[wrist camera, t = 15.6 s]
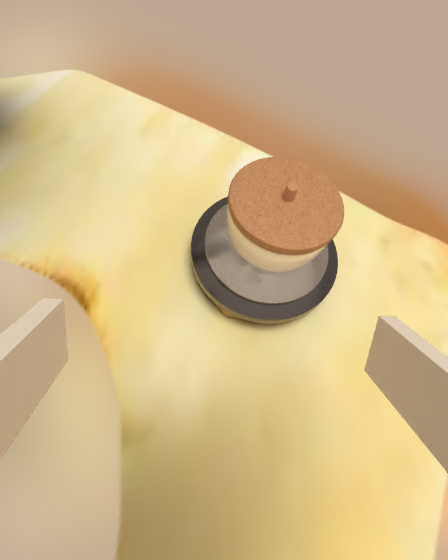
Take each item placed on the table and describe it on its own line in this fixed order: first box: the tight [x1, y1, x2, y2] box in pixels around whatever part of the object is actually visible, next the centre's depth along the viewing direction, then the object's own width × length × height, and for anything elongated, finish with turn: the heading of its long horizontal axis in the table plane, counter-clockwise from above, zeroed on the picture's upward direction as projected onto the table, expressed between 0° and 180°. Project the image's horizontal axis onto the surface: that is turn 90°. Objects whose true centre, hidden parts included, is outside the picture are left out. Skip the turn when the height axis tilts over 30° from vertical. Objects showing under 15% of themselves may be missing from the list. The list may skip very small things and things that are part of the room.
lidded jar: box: [227, 157, 344, 272], centre depth 32 cm, size 11×11×9 cm
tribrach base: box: [191, 197, 338, 324], centre depth 39 cm, size 17×17×5 cm
